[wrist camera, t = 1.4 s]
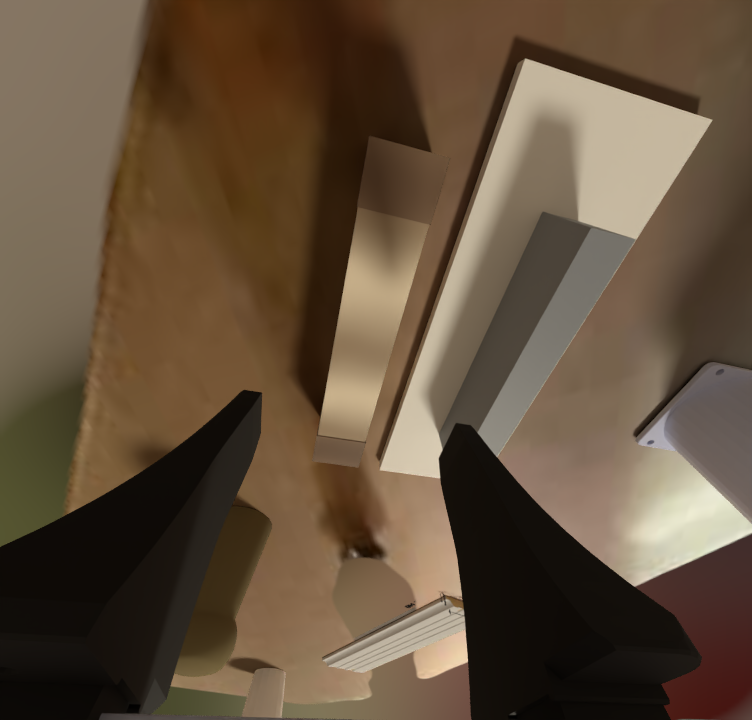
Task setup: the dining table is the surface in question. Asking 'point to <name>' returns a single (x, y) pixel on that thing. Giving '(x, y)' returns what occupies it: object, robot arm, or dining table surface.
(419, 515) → the dining table surface
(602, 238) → the ridge stand
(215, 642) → the pepper mill
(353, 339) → the shiny metallic bar
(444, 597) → the baseboard
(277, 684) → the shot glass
